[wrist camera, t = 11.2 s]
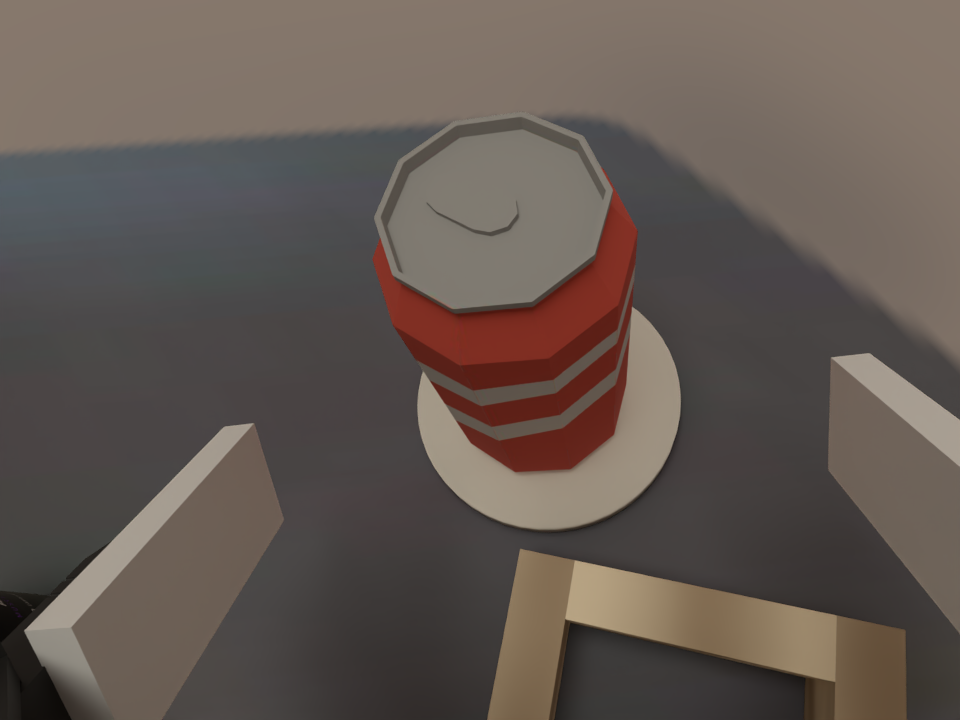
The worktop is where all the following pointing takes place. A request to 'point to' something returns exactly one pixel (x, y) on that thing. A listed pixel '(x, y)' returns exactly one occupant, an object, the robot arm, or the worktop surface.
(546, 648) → the oak holder
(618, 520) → the worktop surface
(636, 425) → the coaster
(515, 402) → the beverage can
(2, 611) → the supplement bottle
